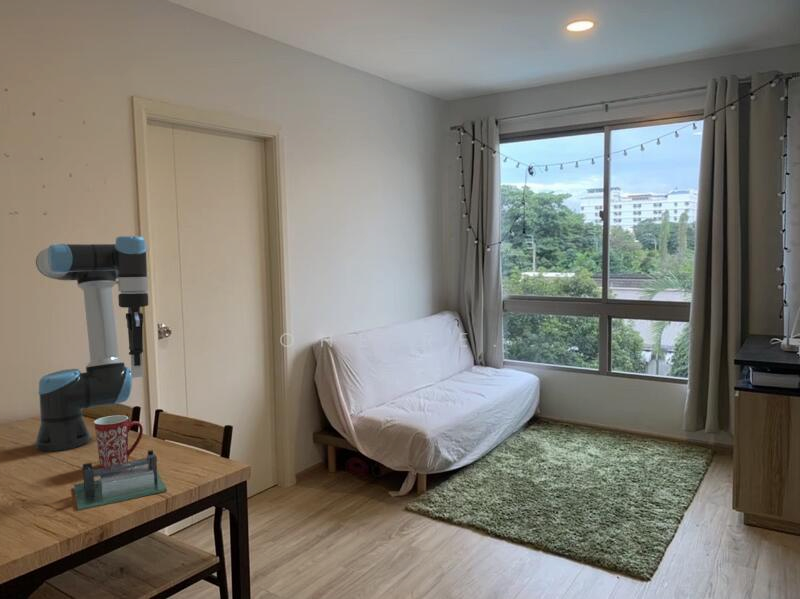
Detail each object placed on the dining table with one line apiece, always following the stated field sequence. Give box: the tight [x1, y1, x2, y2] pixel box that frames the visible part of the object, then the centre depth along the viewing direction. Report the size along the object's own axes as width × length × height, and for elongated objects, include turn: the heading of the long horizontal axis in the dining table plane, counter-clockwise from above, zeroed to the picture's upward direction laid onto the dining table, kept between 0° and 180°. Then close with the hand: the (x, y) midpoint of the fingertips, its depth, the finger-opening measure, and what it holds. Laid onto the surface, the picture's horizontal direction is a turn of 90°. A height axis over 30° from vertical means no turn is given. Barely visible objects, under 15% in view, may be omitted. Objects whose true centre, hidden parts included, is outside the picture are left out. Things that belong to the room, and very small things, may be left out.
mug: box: [93, 414, 144, 469], centre depth 172 cm, size 13×9×14 cm
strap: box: [93, 453, 158, 478], centre depth 153 cm, size 17×3×2 cm, turn 121°
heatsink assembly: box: [73, 449, 168, 511], centre depth 153 cm, size 20×16×8 cm
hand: (137, 376), depth 166 cm, fingers closed
